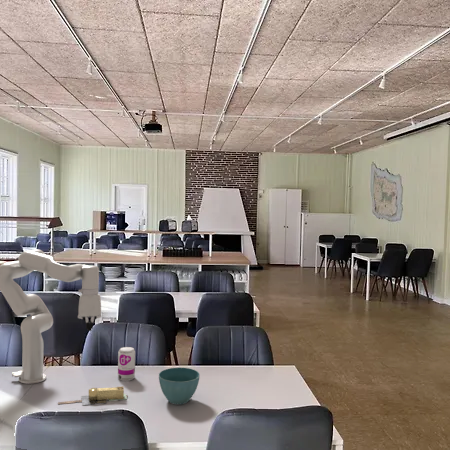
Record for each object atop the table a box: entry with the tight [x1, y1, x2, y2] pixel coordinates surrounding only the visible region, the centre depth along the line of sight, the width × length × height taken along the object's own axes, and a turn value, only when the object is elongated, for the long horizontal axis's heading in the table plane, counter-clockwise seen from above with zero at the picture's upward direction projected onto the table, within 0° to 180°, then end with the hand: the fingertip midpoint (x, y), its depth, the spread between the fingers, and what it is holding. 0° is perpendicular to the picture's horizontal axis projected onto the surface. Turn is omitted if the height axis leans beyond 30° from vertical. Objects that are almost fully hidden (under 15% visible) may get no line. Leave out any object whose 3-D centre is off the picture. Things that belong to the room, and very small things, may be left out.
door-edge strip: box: [57, 394, 128, 405], centre depth 219 cm, size 30×2×1 cm, turn 110°
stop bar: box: [88, 385, 125, 401], centre depth 220 cm, size 15×4×4 cm, turn 103°
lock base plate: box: [80, 394, 107, 406], centre depth 219 cm, size 10×10×1 cm
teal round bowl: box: [158, 367, 200, 405], centre depth 221 cm, size 18×18×12 cm
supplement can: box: [117, 346, 136, 382], centre depth 247 cm, size 8×8×15 cm
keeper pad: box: [108, 393, 128, 402], centre depth 223 cm, size 8×6×1 cm
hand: (89, 330), depth 234 cm, fingers closed
